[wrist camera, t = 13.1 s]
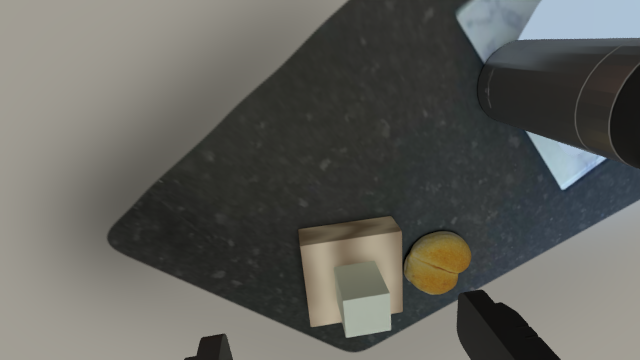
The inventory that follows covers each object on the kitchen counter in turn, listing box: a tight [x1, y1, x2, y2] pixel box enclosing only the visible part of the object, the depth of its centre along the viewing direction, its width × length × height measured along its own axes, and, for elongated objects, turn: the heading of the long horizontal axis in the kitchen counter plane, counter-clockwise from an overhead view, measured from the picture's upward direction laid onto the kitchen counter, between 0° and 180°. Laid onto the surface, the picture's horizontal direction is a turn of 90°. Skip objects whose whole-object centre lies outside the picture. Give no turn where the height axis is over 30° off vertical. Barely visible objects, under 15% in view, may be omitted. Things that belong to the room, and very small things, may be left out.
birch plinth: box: [298, 216, 403, 327], centre depth 45 cm, size 12×12×4 cm
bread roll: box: [404, 231, 471, 295], centre depth 47 cm, size 8×9×4 cm
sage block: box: [334, 261, 391, 338], centre depth 40 cm, size 5×5×6 cm
